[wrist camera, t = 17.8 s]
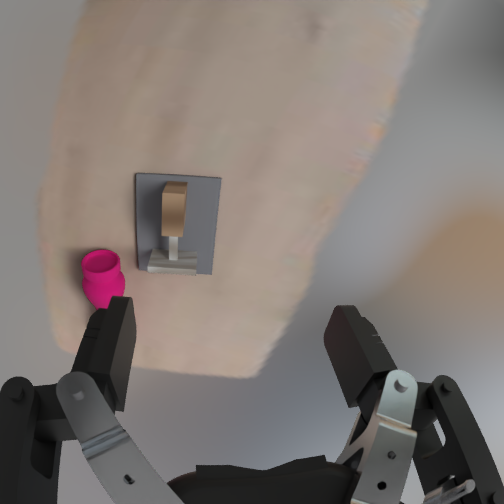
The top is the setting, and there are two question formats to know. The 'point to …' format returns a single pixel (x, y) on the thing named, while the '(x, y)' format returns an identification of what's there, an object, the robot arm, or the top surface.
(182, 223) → the wood and metal piece
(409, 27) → the top surface
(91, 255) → the pepper mill
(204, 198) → the mat
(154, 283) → the top surface
